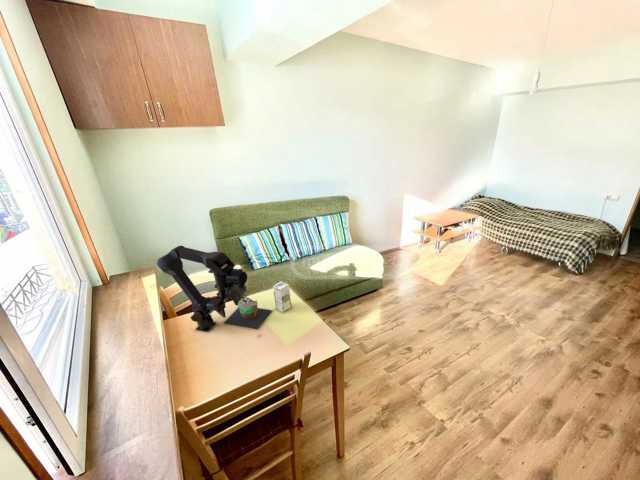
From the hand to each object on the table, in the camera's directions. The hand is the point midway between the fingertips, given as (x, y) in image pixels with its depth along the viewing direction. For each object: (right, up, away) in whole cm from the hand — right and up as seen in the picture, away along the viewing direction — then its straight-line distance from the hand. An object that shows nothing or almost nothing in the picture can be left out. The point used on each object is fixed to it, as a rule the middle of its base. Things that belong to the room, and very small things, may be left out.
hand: (230, 311), depth 125 cm
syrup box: (+19, -2, +22) cm, 29 cm away
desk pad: (+3, -6, +15) cm, 16 cm away
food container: (+2, -5, +14) cm, 16 cm away
